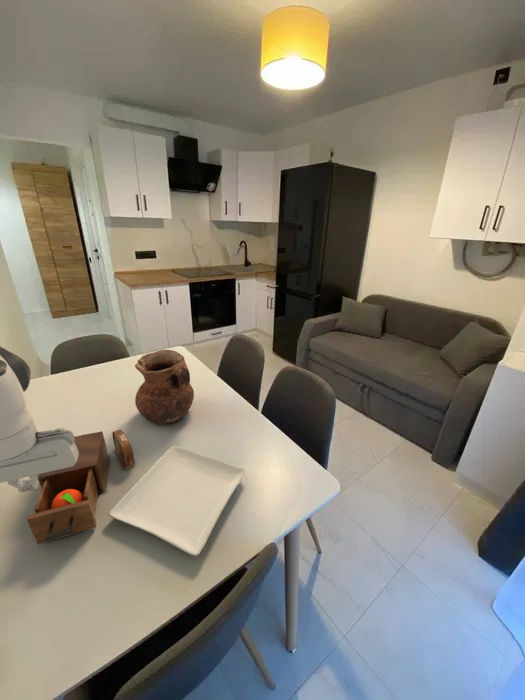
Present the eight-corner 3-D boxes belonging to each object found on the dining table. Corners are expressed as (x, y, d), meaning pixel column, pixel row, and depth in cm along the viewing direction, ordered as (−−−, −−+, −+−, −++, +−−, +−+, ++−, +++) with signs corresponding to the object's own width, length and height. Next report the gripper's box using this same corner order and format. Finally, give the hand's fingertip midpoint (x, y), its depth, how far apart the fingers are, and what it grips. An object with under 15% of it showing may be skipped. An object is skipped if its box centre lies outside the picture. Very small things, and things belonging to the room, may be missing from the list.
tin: (113, 446, 100) (109, 427, 97) (123, 442, 102) (119, 423, 98) (127, 474, 90) (123, 453, 86) (138, 469, 92) (134, 448, 88)
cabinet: (104, 492, 84) (96, 464, 79) (48, 506, 79) (37, 478, 75) (108, 456, 96) (102, 431, 92) (60, 467, 91) (51, 440, 87)
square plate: (173, 452, 99) (172, 443, 97) (246, 478, 90) (246, 469, 88) (108, 522, 76) (105, 512, 74) (198, 566, 67) (197, 555, 65)
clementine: (94, 509, 76) (89, 490, 74) (68, 532, 71) (61, 512, 68) (74, 497, 79) (68, 478, 77) (48, 518, 74) (40, 499, 71)
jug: (129, 430, 108) (118, 371, 97) (148, 398, 127) (140, 346, 117) (189, 431, 109) (185, 372, 98) (199, 399, 128) (195, 347, 118)
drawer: (93, 543, 70) (86, 519, 66) (31, 562, 65) (19, 537, 62) (101, 485, 85) (95, 462, 81) (51, 497, 80) (43, 474, 77)
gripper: (73, 417, 63) (87, 465, 68) (-50, 439, 56) (-24, 490, 61) (67, 436, 57) (83, 486, 63) (-70, 463, 50) (-39, 516, 56)
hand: (29, 488), depth 62 cm, fingers closed
